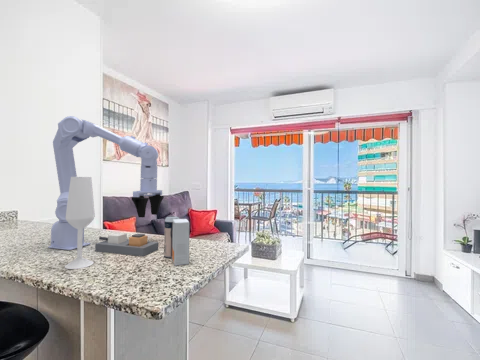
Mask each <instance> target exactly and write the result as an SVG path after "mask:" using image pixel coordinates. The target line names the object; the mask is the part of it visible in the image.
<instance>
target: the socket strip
mask: <svg viewBox="0 0 480 360" xmlns="http://www.w3.org/2000/svg"><path fill="white" fill-rule="evenodd" d="M98 240H100V242H97V243H95V245H94V247H95V248H94V252H96V253H97V252H99V253H107V254H108V253H109V254H118V255H124V256H126V255H127V256H136V257H145V256H147V255H150V254H151V253H154V252H156V251H159V241H152V240H151V241H150V240H148V241H147V244H145V245H143V246H140V247H138V246H129V238H128V235H127V233H123V232H114V233H111V234H107V236H100V237H99V239H98Z"/></svg>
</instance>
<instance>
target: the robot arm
mask: <svg viewBox="0 0 480 360" xmlns="http://www.w3.org/2000/svg"><path fill="white" fill-rule="evenodd" d="M90 137H91V138H96V137H97V138H98V137H100V138H101V139H104V140H106V141H108V142H111V143H114V144H116V145H118V146H119V149H120V150H121V151H122V152H125V153H127V154H129V155H131V156H134V157H136V158H140V159H141V160H140V161H141V165H140V179H139V180H140V185H139V186H140V187H139V190H134V191H132V196H131V201H132V202H133V204H134V207H135V209H136V214H137V217H138V218H145V217H146V210H147V205H148V201H149V204H150V213H151V215H154V216H155V215H156V216H157V215H158V213H159V209H160V205H161V204H162V201H163V200H164V195H163V190H161V189H158V158H159V152H158V149H156V148H155V147H154V146H153V145H149V144H148V143H147V142H146V141H145V142H143V141H141V140H139V139H137V138H136V137H135V136H133V135H125V136H121V135H119V134H116V133H115V132H113V131H110V130H109V129H107V128H104V127H102V126H100V125H98V124H96V123H93V122H91V121H89V120H88V121H87V120H85V119H81V118H80V119H79V118H78V117H77V116H73V115H69V116H65V117H64V118H62V120H60V121H59V122H58V123H57V131H56V133H55V135H54V139H53V140H52V146H53V151H54V153H53V154H54V159H55V160H54V161H55V165H56V166H55V167H56V172H57V173H56V175H57V179H58V187H59V193H60V194H59V196H58V197H57V200H56V203H57V205H56V209H55V211H54V214H55V217H56V218H57V219H58V220H57V221H56V222H54V223H53V224H52V226H51V228H50V229H51V230H50V245H48V247H47V248H49V249H55V250H56V249H57V250H65V251H72V250H75V249H76V250H77V239H78V229H76V228H74V227H73V226H71V225H70V224H69V223H68V222H67V220H66V218H65V217H66V210H67V202H68V195H69V188H70V180H71V177H78V175H77V168H76V162H75V154H74V147H75V146H76V145H78V144H80V143H81V142H83V141H86V140H87V139H89V138H90ZM89 245H91V243H90V242H85V228H84V229H83V243H82V248H83V247H86V246H89Z"/></svg>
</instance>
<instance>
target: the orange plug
mask: <svg viewBox="0 0 480 360" xmlns="http://www.w3.org/2000/svg"><path fill="white" fill-rule="evenodd" d="M148 237H149V236H148V235H146V234H145V233H135V234H132V235H131V236H129V237H128V239H129V246H138V247H140V246H143V245H145V244H147V241H149V240H148Z"/></svg>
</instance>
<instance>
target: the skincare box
mask: <svg viewBox="0 0 480 360" xmlns="http://www.w3.org/2000/svg"><path fill="white" fill-rule="evenodd" d="M171 259H172V261H173V265H174V266H182V265H183V266H186V265H190V221H189V220H188V219H187V218H179V219H173V238H172V258H171Z"/></svg>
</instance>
